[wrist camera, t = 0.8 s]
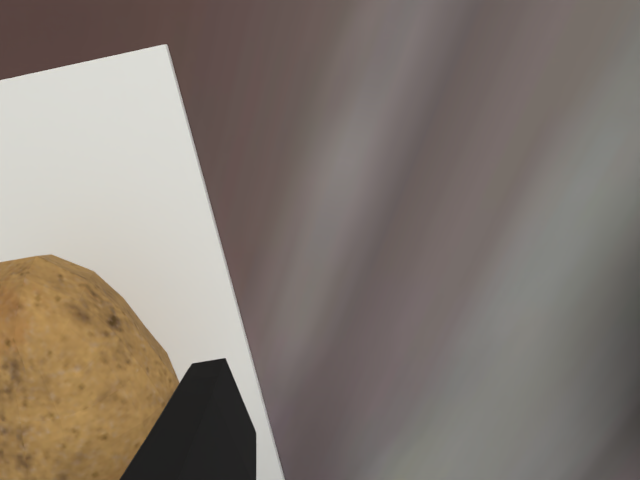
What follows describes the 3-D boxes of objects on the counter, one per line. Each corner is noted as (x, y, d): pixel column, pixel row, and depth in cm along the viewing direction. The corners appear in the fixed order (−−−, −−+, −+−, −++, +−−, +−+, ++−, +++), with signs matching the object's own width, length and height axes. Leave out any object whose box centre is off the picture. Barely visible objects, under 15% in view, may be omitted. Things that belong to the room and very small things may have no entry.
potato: (189, 216, 24) (129, 287, 17) (215, 483, 28) (177, 638, 21) (-37, 221, 24) (-199, 294, 17) (23, 487, 28) (-84, 643, 21)
